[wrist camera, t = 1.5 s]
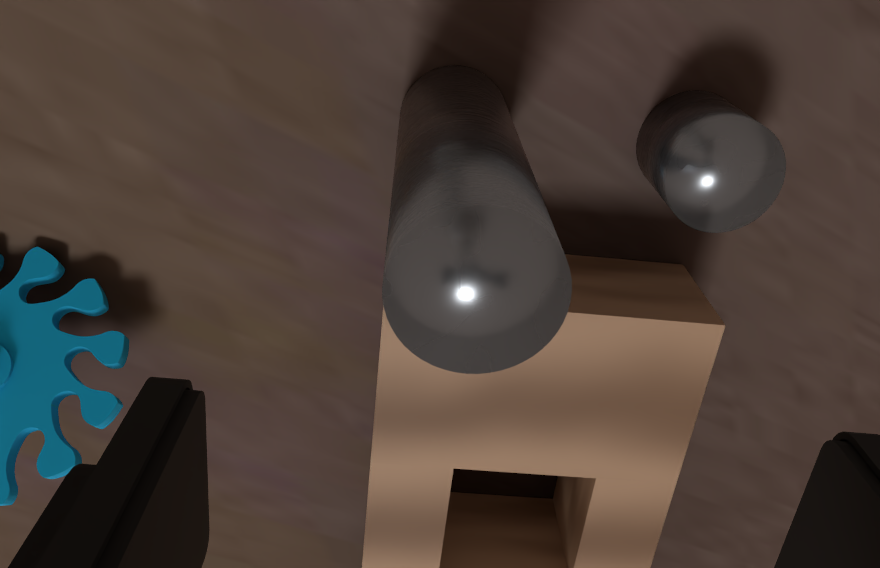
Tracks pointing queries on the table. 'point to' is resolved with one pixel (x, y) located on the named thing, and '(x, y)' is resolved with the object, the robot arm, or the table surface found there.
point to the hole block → (547, 432)
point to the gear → (48, 368)
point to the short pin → (710, 161)
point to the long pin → (469, 232)
